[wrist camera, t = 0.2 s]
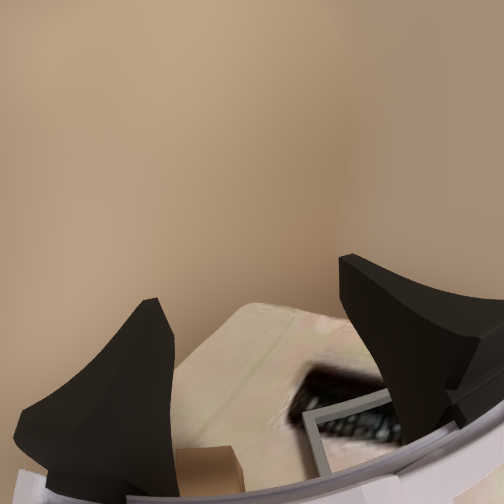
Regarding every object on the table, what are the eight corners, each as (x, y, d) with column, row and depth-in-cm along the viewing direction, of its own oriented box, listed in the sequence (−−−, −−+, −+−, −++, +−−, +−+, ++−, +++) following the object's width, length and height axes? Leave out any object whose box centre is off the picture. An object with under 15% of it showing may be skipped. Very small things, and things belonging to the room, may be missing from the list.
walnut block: (247, 509, 18) (235, 493, 16) (197, 512, 18) (175, 496, 15) (242, 469, 22) (230, 445, 20) (196, 473, 22) (176, 449, 19)
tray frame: (471, 475, 15) (478, 469, 14) (335, 537, 14) (337, 535, 14) (417, 382, 27) (421, 374, 27) (302, 419, 27) (302, 412, 26)
